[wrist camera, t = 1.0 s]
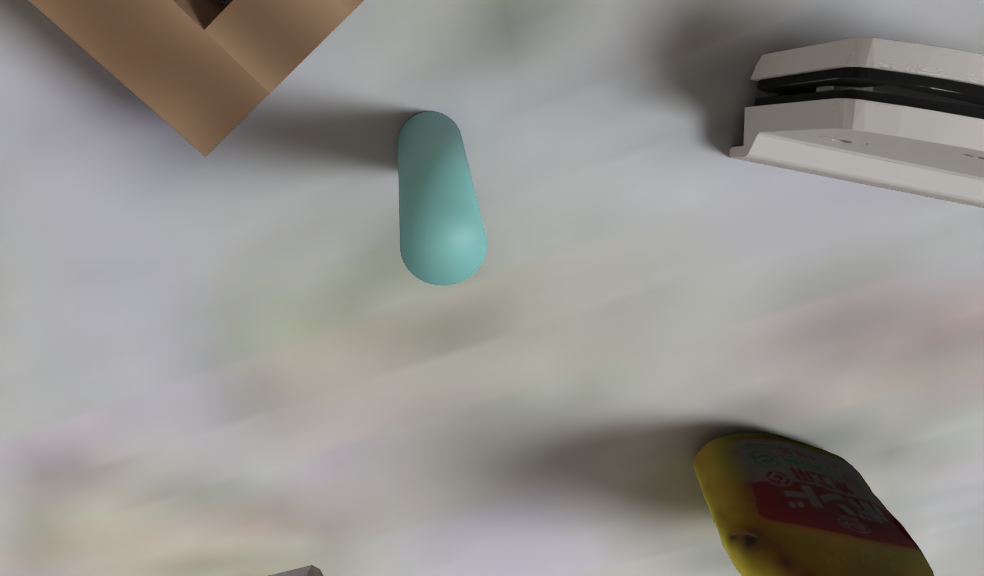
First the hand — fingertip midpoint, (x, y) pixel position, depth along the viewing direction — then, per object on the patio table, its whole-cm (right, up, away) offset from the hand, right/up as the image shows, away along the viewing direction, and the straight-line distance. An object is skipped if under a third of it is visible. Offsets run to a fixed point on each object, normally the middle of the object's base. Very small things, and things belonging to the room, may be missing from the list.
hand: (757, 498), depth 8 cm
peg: (-5, +9, +33) cm, 34 cm away
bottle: (+14, -8, +44) cm, 47 cm away
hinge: (+18, +11, +35) cm, 40 cm away
